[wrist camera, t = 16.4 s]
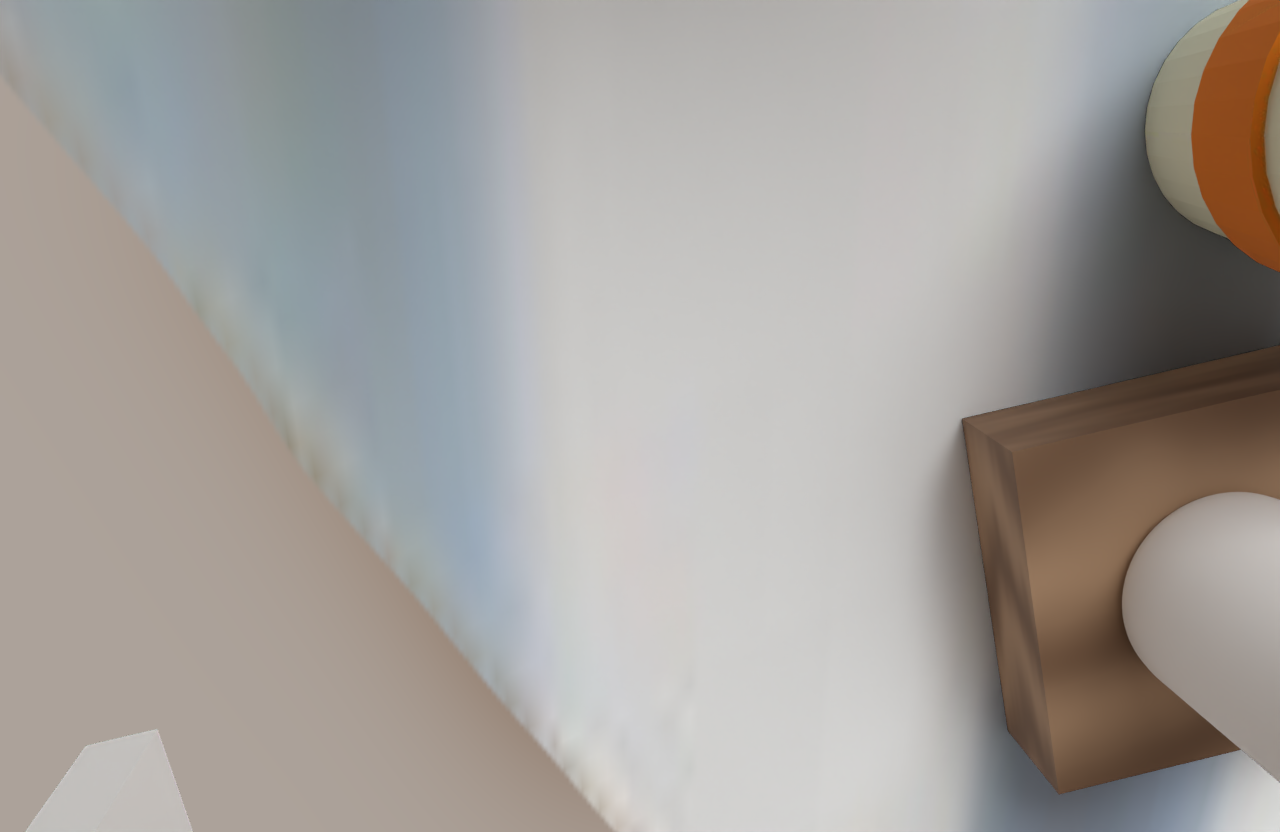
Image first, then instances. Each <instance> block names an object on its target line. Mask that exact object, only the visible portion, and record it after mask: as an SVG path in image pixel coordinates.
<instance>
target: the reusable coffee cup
mask: <svg viewBox="0 0 1280 832" xmlns="http://www.w3.org/2000/svg"><path fill="white" fill-rule="evenodd" d="M1145 138H1146V149H1147V156H1148V160H1149V163H1150V167H1151V170H1152V173H1153V176H1154V178H1155V180H1156V182H1157V184H1158V186H1159V188H1160V190H1161V191H1162V193H1163V195H1164V196H1165V198H1166V199H1167V200H1168V201H1169V202H1170V203H1171V205H1172V206H1173V207H1174V208H1175V209H1176V211H1177V212H1179V213H1180V214H1181V215H1183V216H1184V217H1185V218H1187V219H1188V220H1189V221H1191V222H1192V223H1193V224H1195V225H1197V226H1200V227H1202V228H1204V229H1206V230H1209V231H1211V232H1213V233H1216V234H1218V235H1221V236H1223V237H1225V238H1228V239H1230V241H1231V242H1232V243H1233V244H1234V245H1235V246H1236V247H1237V248H1239V249H1240V250H1241V251H1243V252H1244V253H1245V254H1247V255H1248V256H1249V257H1251V258H1252V259H1253V260H1255V261H1256V262H1257V263H1260V264H1262V265H1264V266H1266V267H1269V268H1271V269H1273V270H1275V271H1278V272H1280V0H1239V1H1237V2H1234V3H1232V4H1230V5H1228V6H1225V7H1223V8H1221V9H1218V10H1216V11H1215V12H1213V13H1212V14H1210V15H1209V16H1207V17H1206V18H1204V19H1203V20H1201V21H1200V22H1198V23H1197V24H1196V25H1195V26H1194V27H1193V28H1192V29H1191V30H1190V31H1189V32H1188V33H1187V34H1186V35H1185V36H1184V37H1183V38H1182V39H1181V40H1179V42H1178V43H1177V44H1176V46H1175V47H1174V49H1173V50H1172V51H1171V53H1170V54H1169V56H1168V57H1167V58H1166V60H1165V61H1164V63H1163V65H1162V67H1161V70H1160V72H1159V74H1158V76H1157V78H1156V80H1155V82H1154V84H1153V88H1152V92H1151V95H1150V99H1149V102H1148V106H1147V114H1146V125H1145Z"/></svg>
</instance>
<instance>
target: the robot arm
mask: <svg viewBox="0 0 1280 832" xmlns="http://www.w3.org/2000/svg"><path fill="white" fill-rule="evenodd" d="M25 832H193V830H192V827H191V824H190V821H189V818H188V815H187V812H186V809H185V807H184V804H183V801H182V798H181V795H180V793H179V789H178V786H177V784H176V781H175V778H174V775H173V772H172V769H171V766H170V763H169V761H168V758H167V755H166V752H165V749H164V746H163V743H162V740H161V738H160V735H159V732H158V729H154V730H150V731H146V732H142V733H138V734H133V735H129V736H125V737H120V738H116V739H112V740H108V741H103V742H99V743H95V744H91V745H86V746H85V748H84V749H83V750H82V752H81V754H80V755H79V756H78V757H77V759H76V760H75V762H74V763H73V764H72V766H71V767H70V769H69V770H68V772H67V773H66V774H65V776H64V777H63V779H62V780H61V782H60V783H59V784H58V786H57V787H56V789H55V790H54V791H53V793H52V794H51V796H50V797H49V799H48V800H47V802H46V803H45V804H44V806H43V807H42V809H41V810H40V811H39V813H38V814H37V815H36V817H35V818H34V820H33V821H32V823H31V824H30V825H29V827H28V828H27V830H26V831H25Z"/></svg>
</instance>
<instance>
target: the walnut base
mask: <svg viewBox="0 0 1280 832" xmlns="http://www.w3.org/2000/svg"><path fill="white" fill-rule="evenodd" d="M962 422H963V429H964V436H965V442H966V449H967V456H968V463H969V470H970V476H971V483H972V490H973V497H974V504H975V510H976V517H977V524H978V531H979V538H980V545H981V551H982V558H983V565H984V572H985V579H986V585H987V592H988V599H989V606H990V613H991V619H992V626H993V633H994V640H995V647H996V653H997V660H998V667H999V674H1000V681H1001V687H1002V694H1003V701H1004V708H1005V715H1006V722H1007V728H1008V732H1009V733H1010V734H1011V735H1012V736H1013V738H1014V739H1015V740H1016V741H1017V743H1018V744H1019V745H1020V746H1021V748H1022V749H1023V750H1024V751H1025V753H1026V754H1027V755H1028V756H1029V758H1030V759H1031V760H1032V761H1033V763H1034V764H1035V765H1036V766H1037V768H1038V769H1039V770H1040V771H1041V773H1042V774H1043V775H1044V776H1045V778H1046V779H1047V780H1048V781H1049V783H1050V784H1051V785H1052V786H1053V788H1054V789H1055V790H1056V791H1057V793H1058V794H1062V793H1066V792H1071V791H1075V790H1079V789H1083V788H1087V787H1091V786H1095V785H1099V784H1103V783H1107V782H1111V781H1115V780H1119V779H1123V778H1127V777H1131V776H1136V775H1140V774H1144V773H1148V772H1152V771H1156V770H1160V769H1164V768H1168V767H1172V766H1176V765H1180V764H1184V763H1188V762H1192V761H1197V760H1201V759H1205V758H1209V757H1213V756H1217V755H1221V754H1225V753H1229V752H1233V751H1237V750H1241V749H1240V748H1239V747H1237V746H1236V745H1235V744H1234V743H1233V742H1232V741H1230V740H1229V739H1228V738H1227V737H1226V736H1225V735H1223V734H1222V733H1221V732H1220V731H1219V730H1217V729H1216V728H1215V727H1214V726H1213V725H1212V724H1210V723H1209V722H1208V721H1207V720H1206V719H1205V718H1203V717H1202V716H1201V715H1200V714H1199V713H1198V712H1196V711H1195V710H1194V709H1193V708H1192V707H1191V706H1189V705H1188V704H1187V703H1186V702H1185V701H1183V700H1182V699H1181V698H1180V697H1179V696H1178V695H1176V694H1175V693H1174V692H1173V691H1172V690H1171V689H1169V688H1168V687H1167V686H1166V685H1165V684H1164V683H1162V682H1161V681H1160V680H1159V679H1158V678H1157V677H1156V676H1155V675H1154V674H1153V673H1152V672H1151V671H1150V670H1149V669H1148V668H1147V666H1146V665H1145V664H1144V663H1143V662H1142V661H1141V659H1140V658H1139V657H1138V655H1137V654H1136V652H1135V650H1134V649H1133V647H1132V645H1131V643H1130V641H1129V638H1128V636H1127V633H1126V629H1125V626H1124V621H1123V614H1122V594H1123V586H1124V582H1125V577H1126V574H1127V571H1128V568H1129V566H1130V563H1131V561H1132V559H1133V557H1134V555H1135V553H1136V551H1137V549H1138V548H1139V546H1140V545H1141V543H1142V542H1143V540H1144V539H1145V538H1146V537H1147V535H1148V534H1149V533H1150V532H1151V531H1152V530H1153V529H1154V528H1155V527H1156V526H1157V525H1158V524H1159V523H1160V522H1161V521H1162V520H1163V519H1164V518H1166V517H1167V516H1168V515H1170V514H1171V513H1172V512H1174V511H1176V510H1177V509H1179V508H1180V507H1182V506H1184V505H1186V504H1188V503H1190V502H1192V501H1195V500H1197V499H1200V498H1203V497H1206V496H1210V495H1214V494H1219V493H1226V492H1249V493H1256V494H1261V495H1266V496H1269V497H1272V498H1276V499H1279V500H1280V345H1278V346H1274V347H1269V348H1265V349H1261V350H1256V351H1252V352H1248V353H1243V354H1239V355H1235V356H1230V357H1226V358H1222V359H1218V360H1213V361H1209V362H1205V363H1200V364H1196V365H1192V366H1187V367H1183V368H1179V369H1174V370H1170V371H1166V372H1161V373H1157V374H1153V375H1148V376H1144V377H1140V378H1135V379H1131V380H1127V381H1123V382H1118V383H1114V384H1110V385H1105V386H1101V387H1097V388H1092V389H1088V390H1084V391H1079V392H1075V393H1071V394H1066V395H1062V396H1058V397H1053V398H1049V399H1045V400H1040V401H1036V402H1032V403H1028V404H1023V405H1019V406H1015V407H1010V408H1006V409H1002V410H997V411H993V412H989V413H984V414H980V415H976V416H971V417H967V418H963V419H962Z"/></svg>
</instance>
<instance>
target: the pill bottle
mask: <svg viewBox="0 0 1280 832" xmlns="http://www.w3.org/2000/svg"><path fill="white" fill-rule="evenodd" d="M1122 614H1123V621H1124V626H1125V629H1126V633H1127V636H1128V638H1129V641H1130V643H1131V645H1132V647H1133V649H1134V650H1135V652H1136V654H1137V655H1138V657H1139V658H1140V659H1141V661H1142V662H1143V663H1144V664H1145V665H1146V666H1147V668H1148V669H1149V670H1150V671H1151V672H1152V673H1153V674H1154V675H1155V676H1156V677H1157V678H1158V679H1159V680H1160V681H1161V682H1162V683H1164V684H1165V685H1166V686H1167V687H1168V688H1169V689H1171V690H1172V691H1173V692H1174V693H1175V694H1176V695H1178V696H1179V697H1180V698H1181V699H1182V700H1183V701H1185V702H1186V703H1187V704H1188V705H1189V706H1191V707H1192V708H1193V709H1194V710H1195V711H1196V712H1198V713H1199V714H1200V715H1201V716H1202V717H1203V718H1205V719H1206V720H1207V721H1208V722H1209V723H1210V724H1212V725H1213V726H1214V727H1215V728H1216V729H1217V730H1219V731H1220V732H1221V733H1222V734H1223V735H1225V736H1226V737H1227V738H1228V739H1229V740H1230V741H1232V742H1233V743H1234V744H1235V745H1236V746H1237V747H1239V748H1240V749H1241V750H1242V751H1243V752H1244V753H1246V754H1247V755H1248V756H1249V757H1250V758H1252V759H1253V760H1254V761H1255V762H1256V763H1257V764H1259V765H1260V766H1261V767H1262V768H1263V769H1264V770H1266V771H1267V772H1268V773H1269V774H1270V775H1271V776H1273V777H1274V778H1275V779H1276V780H1277V781H1279V782H1280V500H1279V499H1276V498H1272V497H1269V496H1266V495H1261V494H1256V493H1249V492H1226V493H1219V494H1214V495H1210V496H1206V497H1203V498H1200V499H1197V500H1195V501H1192V502H1190V503H1188V504H1186V505H1184V506H1182V507H1180V508H1179V509H1177V510H1176V511H1174V512H1172V513H1171V514H1170V515H1168V516H1167V517H1166V518H1164V519H1163V520H1162V521H1161V522H1160V523H1159V524H1158V525H1157V526H1156V527H1155V528H1154V529H1153V530H1152V531H1151V532H1150V533H1149V534H1148V535H1147V537H1146V538H1145V539H1144V540H1143V542H1142V543H1141V545H1140V546H1139V548H1138V549H1137V551H1136V553H1135V555H1134V557H1133V559H1132V561H1131V563H1130V566H1129V568H1128V571H1127V574H1126V577H1125V582H1124V586H1123V594H1122Z"/></svg>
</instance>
